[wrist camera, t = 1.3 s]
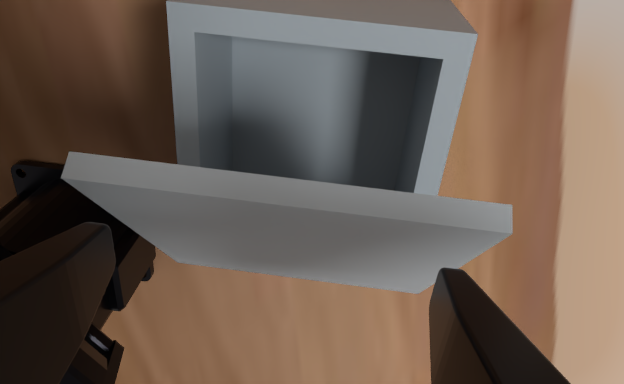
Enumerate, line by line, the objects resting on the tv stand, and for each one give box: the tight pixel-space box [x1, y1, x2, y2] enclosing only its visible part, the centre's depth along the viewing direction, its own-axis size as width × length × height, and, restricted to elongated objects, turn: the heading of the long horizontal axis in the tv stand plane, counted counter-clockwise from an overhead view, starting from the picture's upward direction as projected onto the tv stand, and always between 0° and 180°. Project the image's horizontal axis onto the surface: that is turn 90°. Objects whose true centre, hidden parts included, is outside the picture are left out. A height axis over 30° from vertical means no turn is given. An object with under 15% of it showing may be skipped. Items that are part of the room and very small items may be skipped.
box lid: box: [61, 151, 512, 294], centre depth 14 cm, size 9×9×1 cm
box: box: [166, 0, 478, 196], centre depth 19 cm, size 9×9×6 cm
